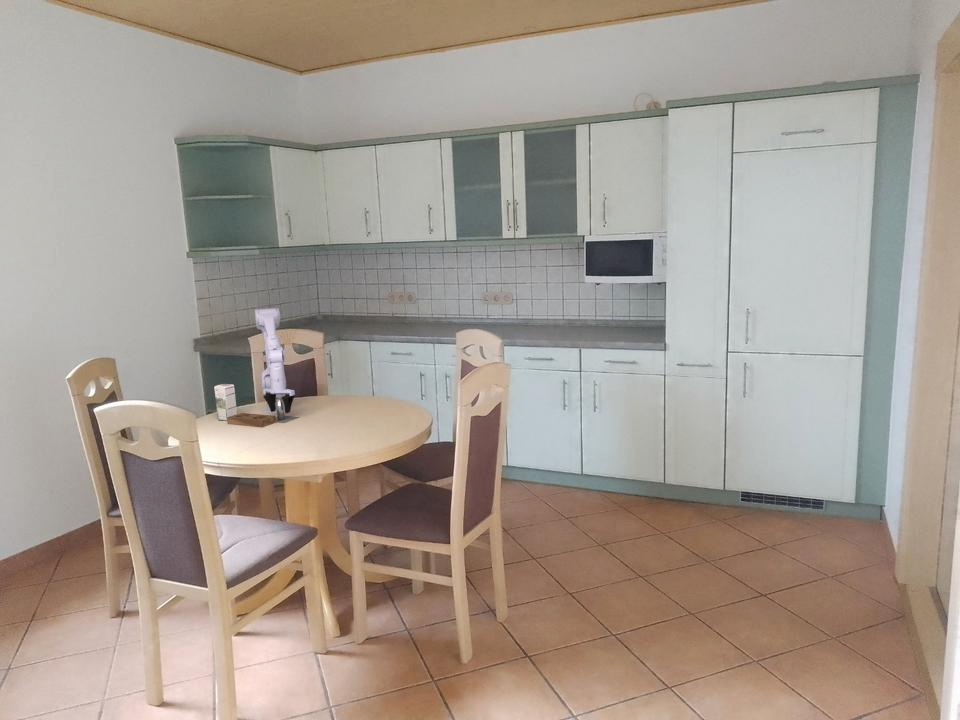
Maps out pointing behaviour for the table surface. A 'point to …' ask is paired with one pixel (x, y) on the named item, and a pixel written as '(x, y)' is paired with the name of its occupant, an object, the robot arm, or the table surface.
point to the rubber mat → (287, 419)
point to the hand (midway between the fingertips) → (280, 412)
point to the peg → (280, 409)
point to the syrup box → (225, 401)
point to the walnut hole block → (251, 420)
